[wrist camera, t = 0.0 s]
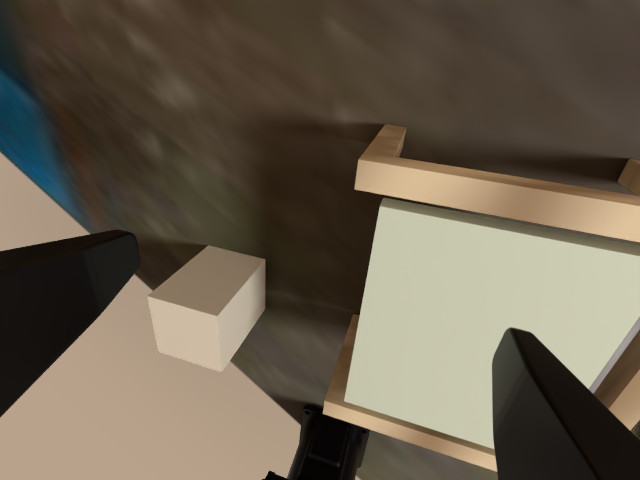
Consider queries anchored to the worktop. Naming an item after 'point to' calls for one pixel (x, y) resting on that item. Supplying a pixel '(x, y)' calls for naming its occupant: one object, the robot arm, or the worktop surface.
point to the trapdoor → (481, 311)
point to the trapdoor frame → (506, 201)
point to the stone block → (209, 307)
